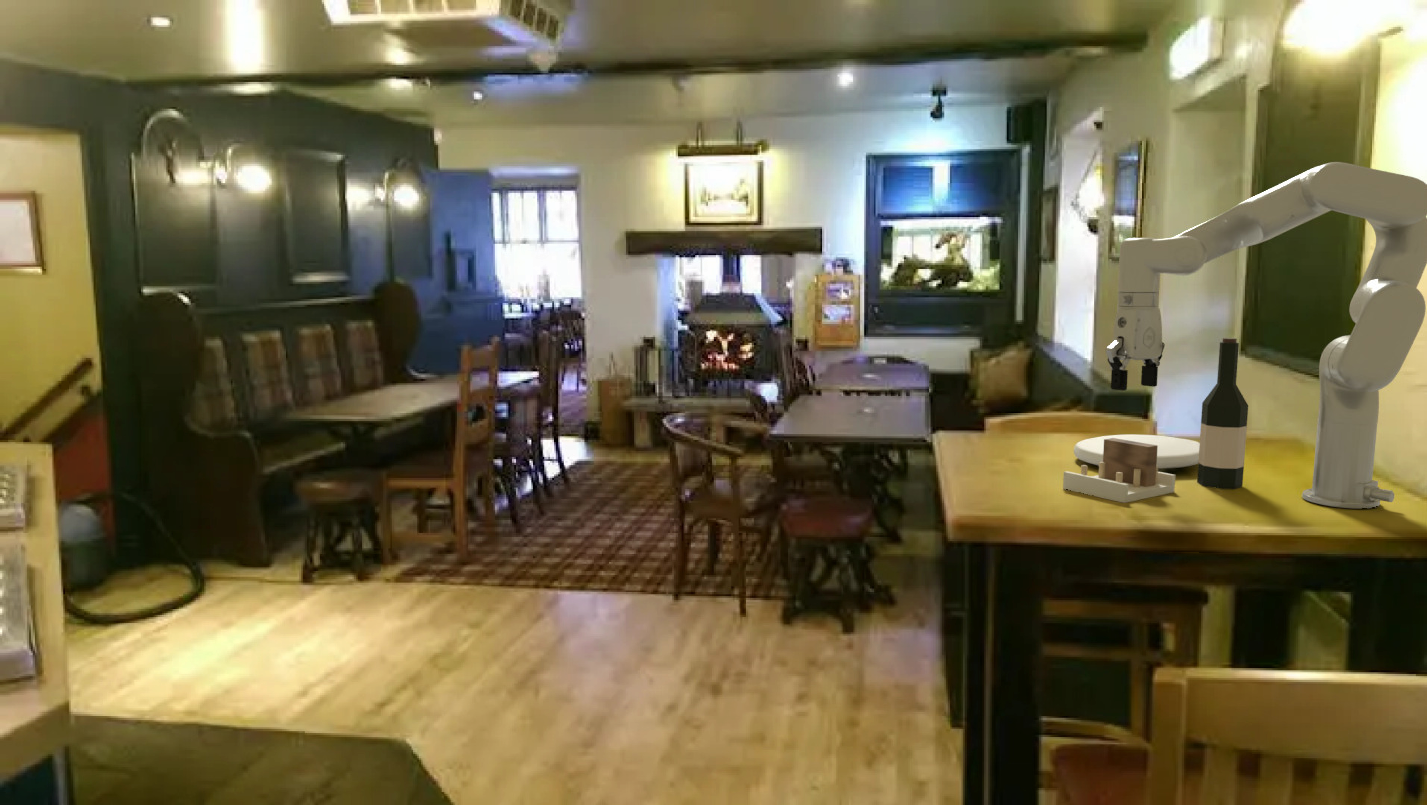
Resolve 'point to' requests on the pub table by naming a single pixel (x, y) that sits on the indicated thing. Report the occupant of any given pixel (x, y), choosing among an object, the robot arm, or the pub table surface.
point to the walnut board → (1130, 460)
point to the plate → (1168, 449)
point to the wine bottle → (1223, 426)
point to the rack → (1117, 485)
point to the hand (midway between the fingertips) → (1134, 387)
